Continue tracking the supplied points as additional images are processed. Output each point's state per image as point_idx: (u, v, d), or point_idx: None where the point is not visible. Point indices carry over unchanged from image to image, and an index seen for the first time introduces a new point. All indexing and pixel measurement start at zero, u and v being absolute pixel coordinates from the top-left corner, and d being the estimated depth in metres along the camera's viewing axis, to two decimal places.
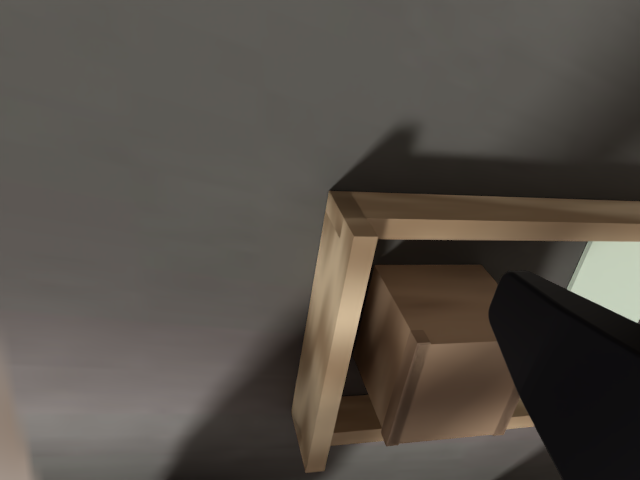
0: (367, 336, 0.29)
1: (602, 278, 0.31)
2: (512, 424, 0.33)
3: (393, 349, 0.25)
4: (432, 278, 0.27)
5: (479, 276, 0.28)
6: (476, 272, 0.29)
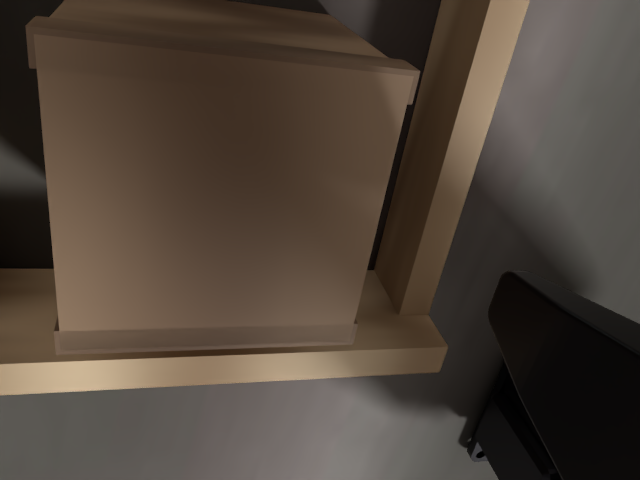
0: None
1: None
2: None
3: None
4: None
5: None
6: None
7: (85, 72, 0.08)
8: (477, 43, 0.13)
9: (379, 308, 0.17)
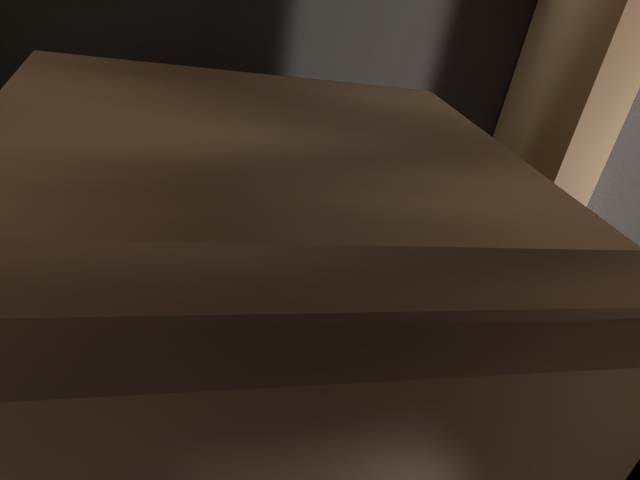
0: None
1: None
2: (605, 130, 0.11)
3: None
4: None
5: None
6: None
7: None
8: None
9: None
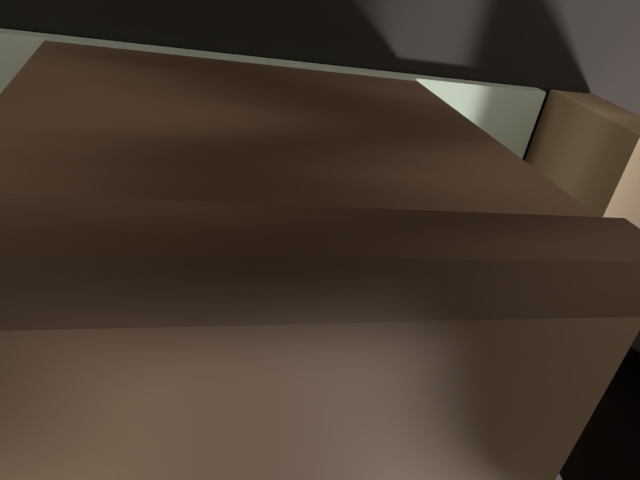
0: None
1: None
2: None
3: None
4: None
5: None
6: None
7: None
8: None
9: None
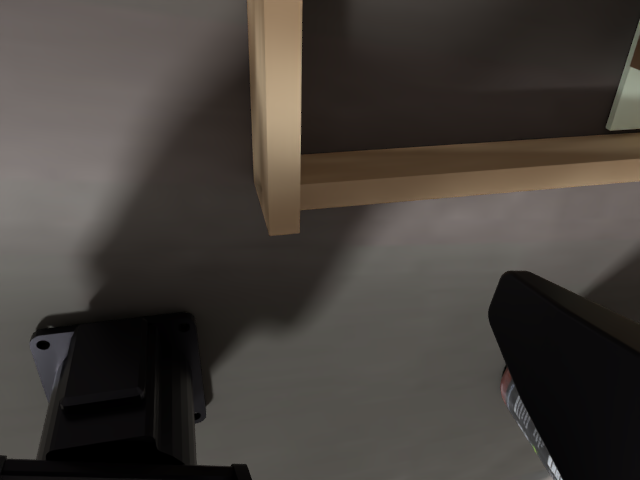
0: None
1: None
2: (592, 177, 0.22)
3: None
4: None
5: None
6: None
7: None
8: (508, 168, 0.21)
9: None
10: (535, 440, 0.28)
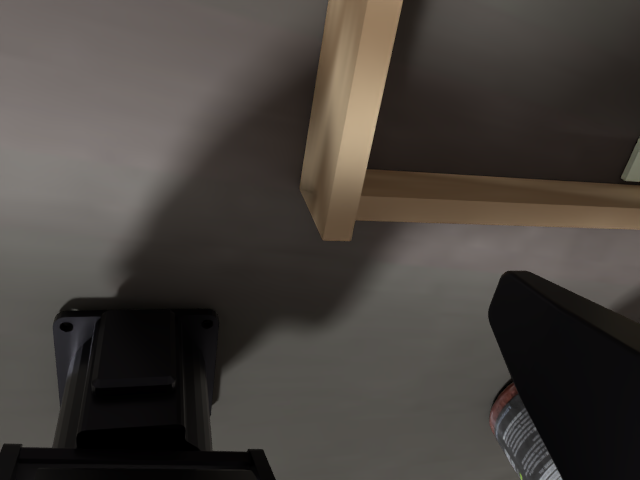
0: None
1: None
2: (610, 221, 0.23)
3: None
4: None
5: None
6: None
7: None
8: (539, 203, 0.22)
9: None
10: (524, 468, 0.29)
